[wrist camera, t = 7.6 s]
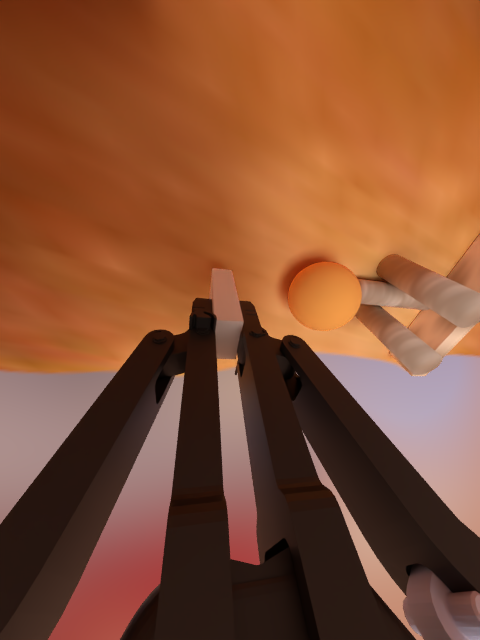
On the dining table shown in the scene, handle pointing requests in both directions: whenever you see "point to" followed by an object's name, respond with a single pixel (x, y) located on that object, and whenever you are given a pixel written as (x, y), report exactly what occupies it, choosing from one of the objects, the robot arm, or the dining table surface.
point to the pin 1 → (432, 290)
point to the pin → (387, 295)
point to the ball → (324, 296)
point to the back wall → (437, 332)
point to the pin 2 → (399, 339)
